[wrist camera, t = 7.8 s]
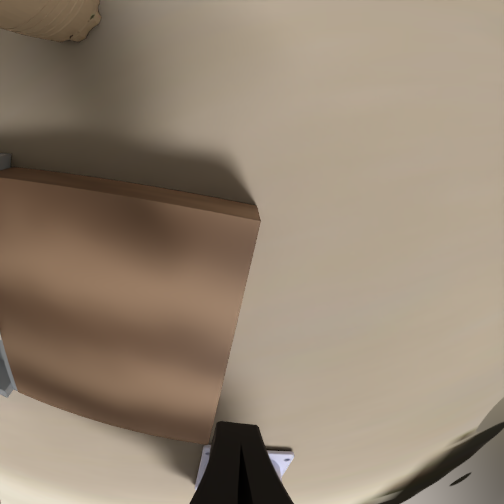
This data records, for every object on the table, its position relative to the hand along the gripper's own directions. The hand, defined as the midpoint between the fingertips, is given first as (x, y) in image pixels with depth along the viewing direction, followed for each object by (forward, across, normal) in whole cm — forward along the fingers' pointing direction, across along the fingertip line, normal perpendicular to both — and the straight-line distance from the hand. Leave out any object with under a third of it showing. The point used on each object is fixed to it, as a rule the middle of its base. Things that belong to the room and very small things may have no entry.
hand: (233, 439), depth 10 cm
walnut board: (+9, +8, +2) cm, 12 cm away
